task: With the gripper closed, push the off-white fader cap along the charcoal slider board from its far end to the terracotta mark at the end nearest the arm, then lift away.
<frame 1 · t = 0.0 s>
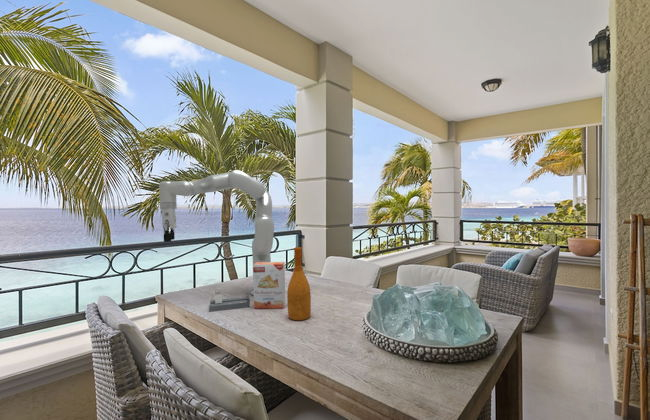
hand: (169, 240, 156), 31 cm above the table, tool pointing down, fingers open, 9 cm apart
cracker box: (270, 307, 147), on the table
wine bottle: (299, 317, 133), on the table
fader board: (230, 306, 149), on the table
fader: (218, 297, 148), point 5 cm above the table, slide at 5.0 cm
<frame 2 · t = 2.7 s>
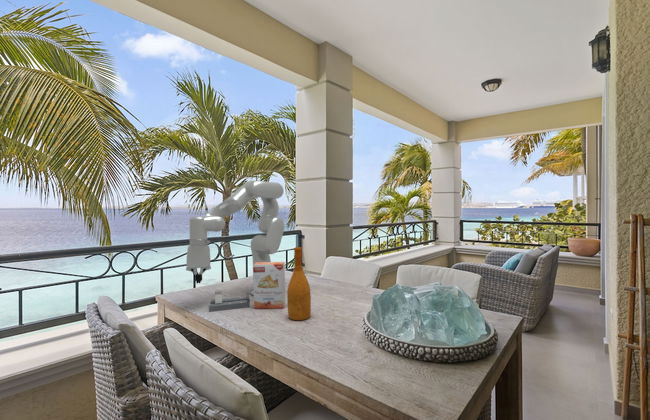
hand: (198, 282, 145), 13 cm above the table, tool pointing down, fingers closed
nothing on the table moved.
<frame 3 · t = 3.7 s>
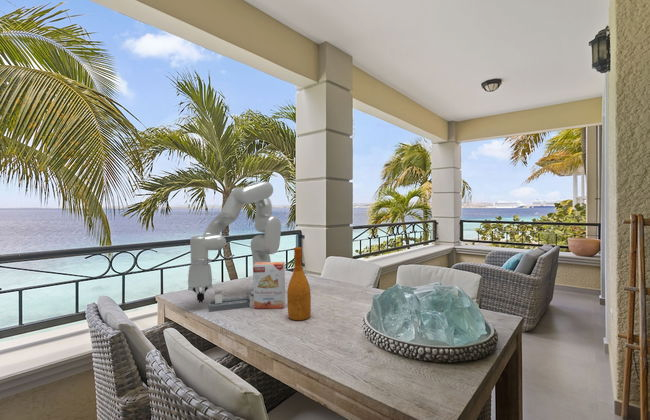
hand: (200, 301, 145), 4 cm above the table, tool pointing down, fingers closed
nothing on the table moved.
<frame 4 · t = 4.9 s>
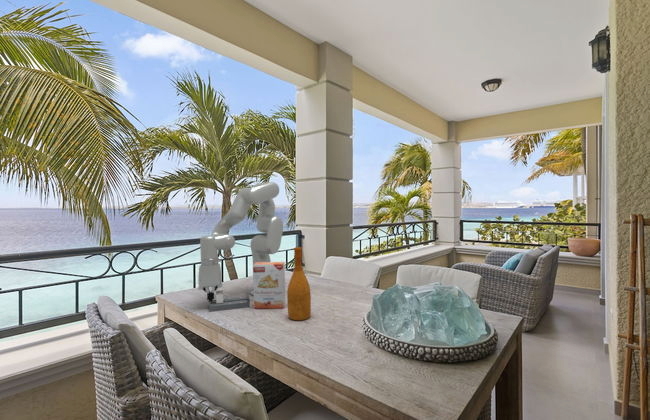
hand: (210, 300, 147), 3 cm above the table, tool pointing down, fingers closed
fader: (219, 297, 148), point 5 cm above the table, slide at 4.5 cm, touching gripper
everything else where it was.
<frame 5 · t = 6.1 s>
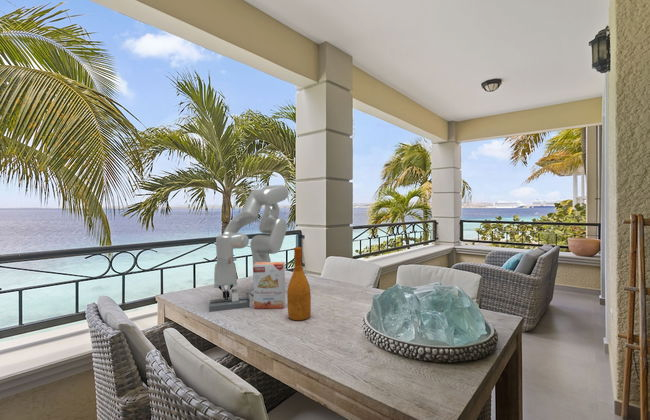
hand: (226, 299, 149), 4 cm above the table, tool pointing down, fingers closed
fader: (235, 296, 150), point 5 cm above the table, slide at -2.4 cm, touching gripper
everything else where it was.
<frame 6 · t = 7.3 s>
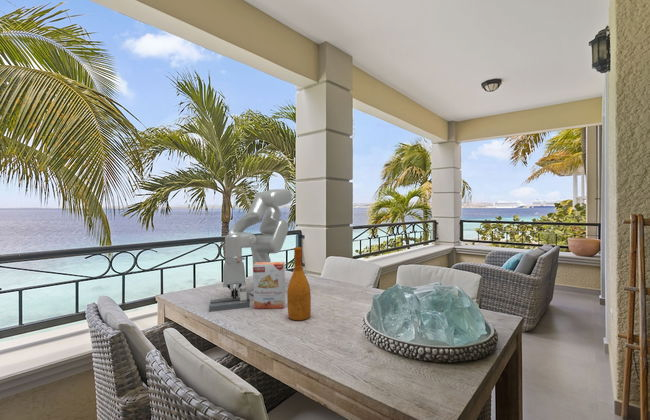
hand: (234, 298, 150), 4 cm above the table, tool pointing down, fingers closed
fader: (243, 295, 151), point 5 cm above the table, slide at -6.2 cm, touching gripper
everything else where it was.
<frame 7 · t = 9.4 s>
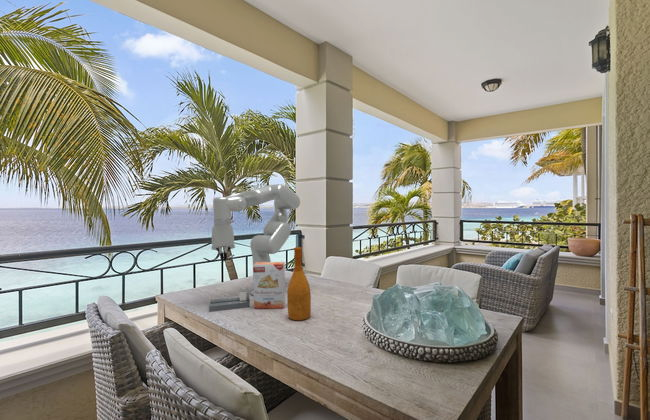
hand: (223, 261, 150), 22 cm above the table, tool pointing down, fingers closed
fader: (242, 295, 151), point 5 cm above the table, slide at -6.0 cm
everything else where it was.
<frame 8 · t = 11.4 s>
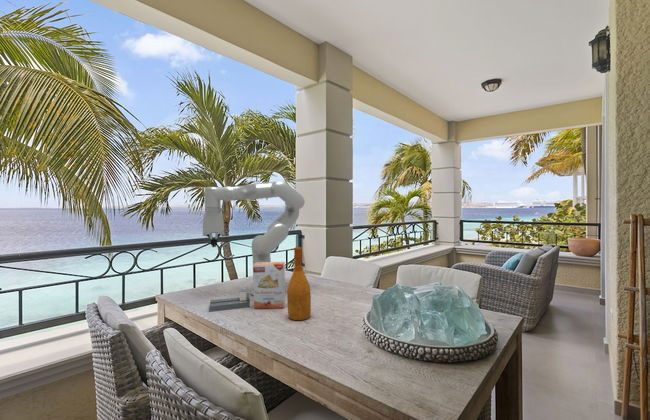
hand: (214, 246, 160), 27 cm above the table, tool pointing down, fingers closed
nothing on the table moved.
at the end: fader slide at -6.0 cm; cracker box moved 0.2 cm from its start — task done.
